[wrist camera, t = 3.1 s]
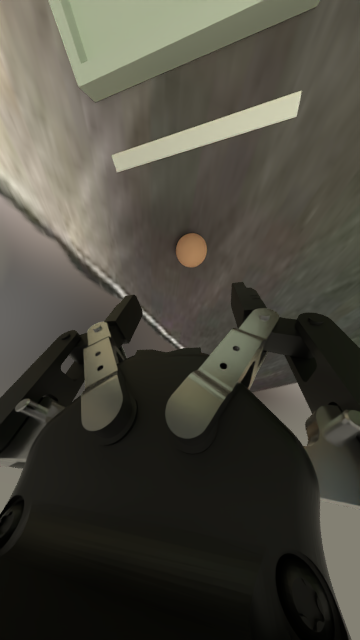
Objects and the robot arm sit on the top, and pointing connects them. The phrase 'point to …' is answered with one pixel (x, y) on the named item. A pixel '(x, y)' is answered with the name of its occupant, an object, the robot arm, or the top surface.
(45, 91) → the top surface
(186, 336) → the top surface
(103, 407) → the robot arm
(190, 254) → the ball
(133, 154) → the strip
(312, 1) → the tray
